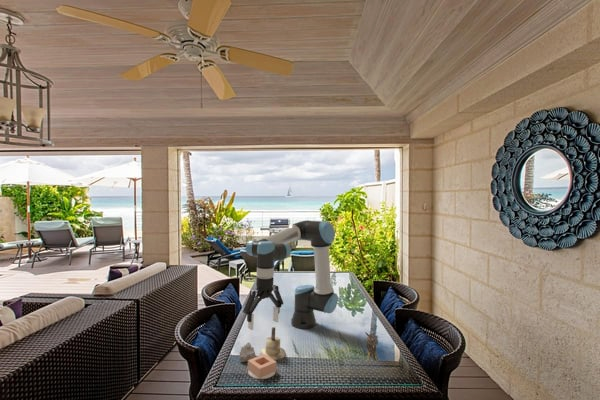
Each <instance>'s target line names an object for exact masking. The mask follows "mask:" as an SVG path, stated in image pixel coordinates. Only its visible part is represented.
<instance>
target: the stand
mask: <svg viewBox="0 0 600 400" xmlns="http://www.w3.org/2000/svg"><path fill="white" fill-rule="evenodd" d="M263 354H265V355H267V356H268V357H270V358H271V359H273V360H274V361H276V362H277V361H279V360H282V359H284V357H285V356H286V350H285V349H284V348H282V347H281V338H280V337H278V336H276V326H273V327H271V335H270V336H269V337H266V338H265V347H264V348H262V349H261V350H260V354H259V356H260V355H263Z"/></svg>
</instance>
